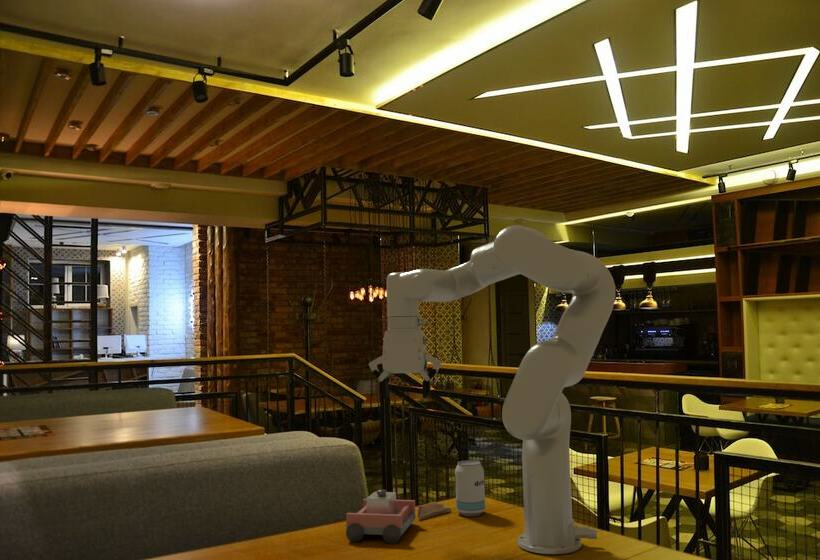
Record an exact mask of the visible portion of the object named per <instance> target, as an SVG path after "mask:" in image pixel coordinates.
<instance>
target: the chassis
mask: <svg viewBox="0 0 820 560" xmlns="http://www.w3.org/2000/svg"><path fill="white" fill-rule="evenodd" d="M362 500H363V501H362V505H363V507H362V508H361V509H360V510H358V512H347V513H346V514H345V517H346V518H345V520H346V521H345V523H346V526H345V527H346V531H345V535H346V538H347V539H348V541H350V542H351V543H358V542H360V540H362V539H363V537H364V535H374V536H375V535H378V536H382V539H383V540H384V542H385V543H387V544H389V545H394V544H396V543H397V542H398V541H399V540H400V539H401V537H402V536H403V534H404V533H405V532H406V531H407V529H408V528H409V527H410V526H411V525H412V524H413V522H414V521H415V520H416V500H415V499H396V508H397V514H370V513H367V500H366V498H364V499H362Z"/></svg>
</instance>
